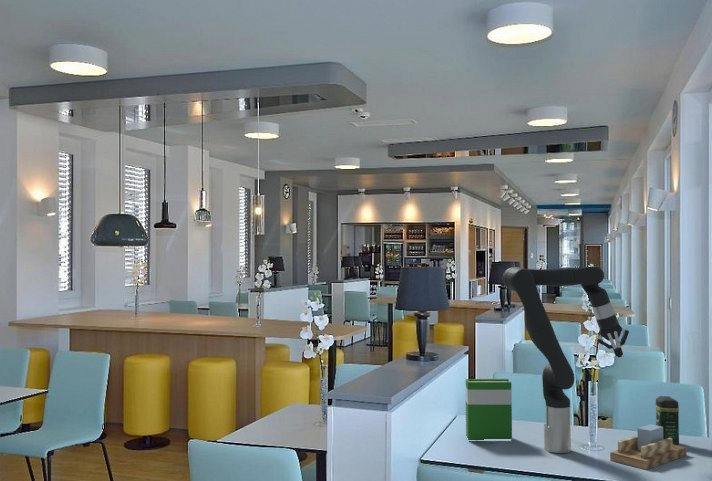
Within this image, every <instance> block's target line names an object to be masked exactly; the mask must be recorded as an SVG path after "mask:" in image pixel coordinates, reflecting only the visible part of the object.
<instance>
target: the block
mask: <svg viewBox="0 0 712 481" xmlns="http://www.w3.org/2000/svg"><path fill="white" fill-rule="evenodd" d="M637 436H638V450H641V447H642V446H645V445H648V444H651V443H655V442H658V441H661V440H663V427H661V426H657V425H656V424H651V423H650V424H647V425H643V426H640V427H637Z"/></svg>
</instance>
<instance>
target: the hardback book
mask: <svg viewBox="0 0 712 481" xmlns="http://www.w3.org/2000/svg"><path fill="white" fill-rule="evenodd" d="M512 397H513V396H512V381H509V378H465V437H466V436H467V438H468V440H484V439H512V440H513V422H512V421H513V419H512V418H513V417H512V416H513V414H512V413H513V412H512V411H513V409H512V407H513V405H512V404H513V403H512ZM467 438H466V439H467ZM468 440H467V441H468Z"/></svg>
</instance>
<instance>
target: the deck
mask: <svg viewBox="0 0 712 481" xmlns="http://www.w3.org/2000/svg"><path fill="white" fill-rule="evenodd" d="M687 452H688V451H687V447H686V446H682V445H674V444H673V443H672V438H667V439H664V440H661V441H658V442H655V443H651V444H648V445H645V446H642V447H641V450H638V435H636V436H632V437H629V438H625V439H623V440H619V441H617V450H613V451H611V452H609V454H610V462H614V463H618V464H621V465H627V466H630V467H633V468H638V469H642V470H646V471H647V470H649V468H650V469H653V468H655V467H657V466H661V465H663V464H667V463H669V462H672V461H674V460H678V459H681V458H683V457H686V456H687V455H688V454H687ZM652 467H653V468H652Z"/></svg>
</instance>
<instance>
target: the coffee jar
mask: <svg viewBox="0 0 712 481" xmlns="http://www.w3.org/2000/svg"><path fill="white" fill-rule="evenodd" d="M679 406H680V405H679V402H678V400H676V399H674V398H673V397H671V396H667V395H666V396H664V395H659V396H658V397H656V398H655V425H657V426H661V427H663V440H664V439H667V438H672V443H673V444H674V445H678V446H680V427H679V426H680V424H679V418H680V416H679V413H680V412H679V410H680V409H679V408H680V407H679Z"/></svg>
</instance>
